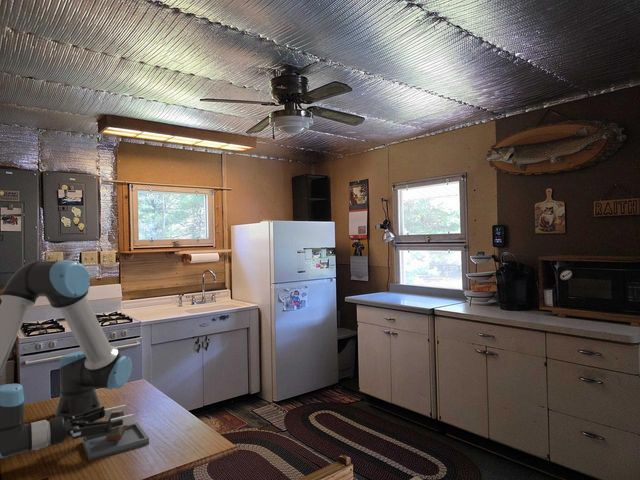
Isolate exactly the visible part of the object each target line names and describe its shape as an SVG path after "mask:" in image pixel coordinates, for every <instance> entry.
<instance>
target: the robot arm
mask: <svg viewBox="0 0 640 480" xmlns="http://www.w3.org/2000/svg"><path fill="white" fill-rule="evenodd" d="M90 281H91V276H90V272H89V270H88V269H87V268H86V266H85V265H84V264H82V263H80V262H78V261H74V260H68V259H65V260H64V259H63V260H62V259H61V260H34V261H31V262H28V263H26V264H24V265H23V266H20V268H18V269H17V270H16V272H15V273H13V274H12V276H11V277H10V278H9V280H8V281H7V283H6V285H5V287H4V288H3V290H2V292H1V294H0V300H1V303H0V376H1V375H2V373H3V370H4V368H5V366H6V363H7V361H8V359H9V357H10V354H11V351H12V349H13V347H14V344H15V342H16V339H17V338H18V335H19V333H20V330H21V328H22V326H23V323H24V321H25V319H26V316H27V313H28V311H29V309H30V308H32V307H34V305H36V301H37V299H38V298H39V297H44V298H46V299H47V301H48V302H49V304H50V307H52V308H53V309H57V310H60V313H61V315H62V317H63V318H64V321H65V322H66V323H67V326H68V327H69V330H70V331H71V333H72V335H73V337H74V338H75V340H76V342H77V344H78V345H79V347H80V349H81V350H78V351H73V352H70V353H67V354H65V355H62V356H61V357H60V359H59V368H58V370H59V388H60V390H59V392H60V394H59V399H58V402H57V405H56V406H55V410H54V417H53V418H50V419H49V420H47V419H42V420H38V421H35V422H30V423H25V394H24V387H23V385H22V384H19V383H7V384H2V385H0V459H5V458H7V457H11V456H15V455H19V454H23V453H26V452H30V451H40V449H42V448H43V449H44V448H47V447H48V445H50V446H55V445H59V444H62V443H64V442H65V441H66V437H67V436H72V440H76V439H81V438H82V437H85V436H91V435H97V434H103V433H110V432H111V429H112V428H116V427H120V426H124V425H129V424H133V423H135V422H134V420H135V419H134V416H135V415H134V413H131V414H127V404H123V405H118V406H114V407H110V408H109V407H108V408H105V406H101V405H102V403H101V400H100V397H99V396H98V394H97V391H96V388H97V389H104V390H105V389H106V390H107V389H108V390H112V389H113V390H114V389H115V390H118V389H120V388H122V387H124V386H125V384H126V383H127V382H128V380H129V379H130V376H131V374H132V367H133V363H132V360H131V358H130V357H129V356H126V355H121V354H120V351H119V350H118V348H117V347H116V346H114V345H111V344H110V341H109V339H108V338H107V335H106V333H105V332H104V330H103V327H102V326H101V324H100V322H99V320H98V317H97V316H96V313H95V312H94V310H93V308H92V306H91V304H90V302H89V300H88V298H87V297H88V294H89V288H90V285H91V282H90ZM119 410H122V411H123V413H124V416H122V417H118V418H113V419H111V421H108V420H101V419H103V418H105V419H107V418H108V419H109V417H110V415H111V412H112V411H119ZM125 414H127V415H125ZM98 420H100V421H98Z"/></svg>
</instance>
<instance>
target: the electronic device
mask: <svg viewBox="0 0 640 480" xmlns="http://www.w3.org/2000/svg"><path fill="white" fill-rule="evenodd" d="M122 416H125V414H124V413H123V411H122V410H119V411H112V412H111V415H110V417H109V418H108V419H107V421H111V419H113V418H118V417H122ZM126 428H127V425H124V426H120V427H116V428H112V429H111V432H110V433H107V436H106V442H110V441H117V440H121V438H122V436H123V434H124V432H125V430H126Z"/></svg>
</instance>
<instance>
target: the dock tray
mask: <svg viewBox="0 0 640 480" xmlns="http://www.w3.org/2000/svg"><path fill="white" fill-rule="evenodd" d="M106 436H107V433H103V434H97V435H91V436H85V437H81V443H82V446H83V449H84V451H85V454H86V457H87V459H88V462H92V461H95V460H97V459H101V458H106V457H109V456H113V455H116V454H119V453H123V452H124V453H125V452H127V451H130V450H133V449H138V448H141V447H145V446H148V445H150V437H149V435H147V433H146V432H145V431H144V429H143V428H142V426H141V425H140V424H139V423H138V422H134V423H132V424H128V425H127V428H126V430H125V432H124V434H123V436H122V438H121V440H117V441H110V442H106Z"/></svg>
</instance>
